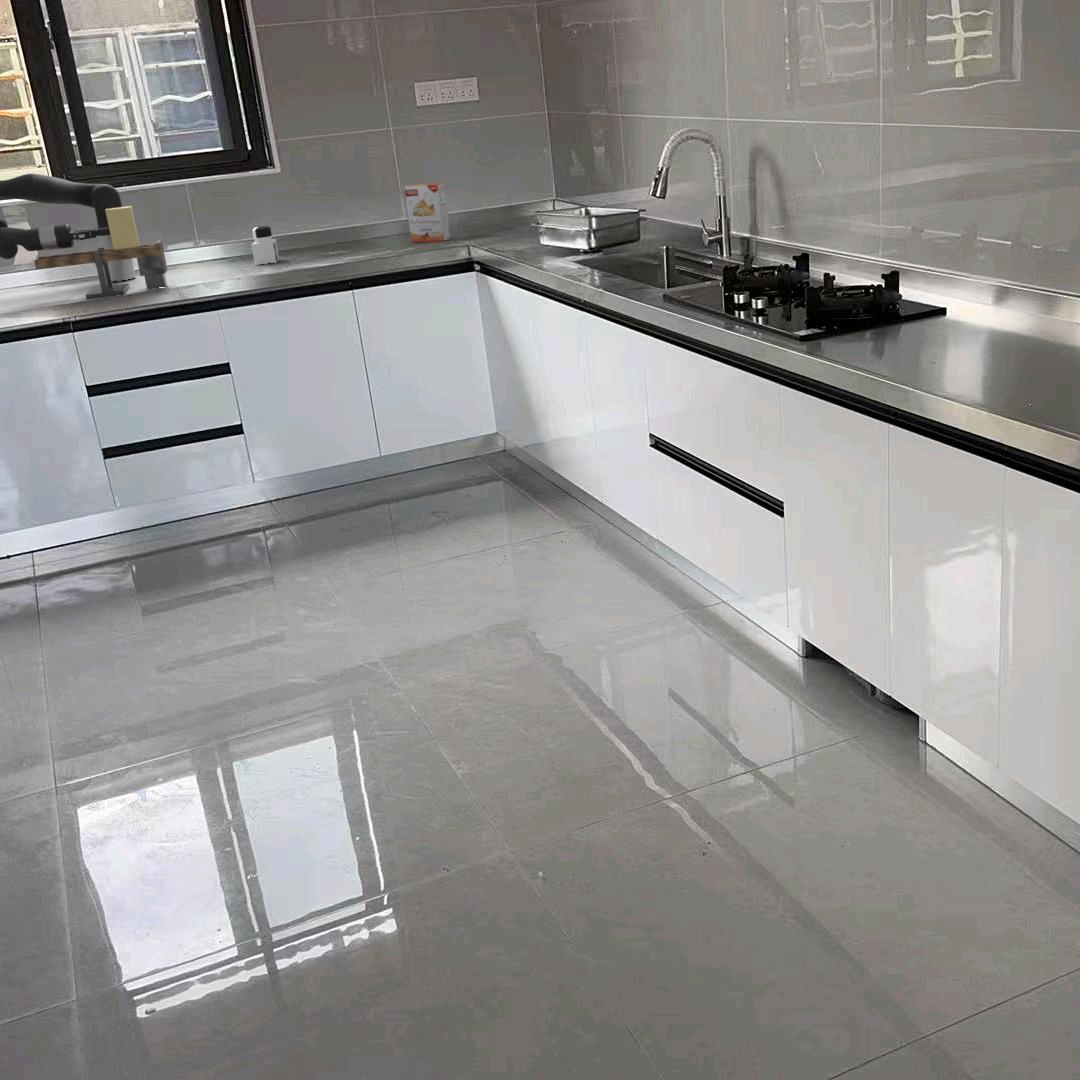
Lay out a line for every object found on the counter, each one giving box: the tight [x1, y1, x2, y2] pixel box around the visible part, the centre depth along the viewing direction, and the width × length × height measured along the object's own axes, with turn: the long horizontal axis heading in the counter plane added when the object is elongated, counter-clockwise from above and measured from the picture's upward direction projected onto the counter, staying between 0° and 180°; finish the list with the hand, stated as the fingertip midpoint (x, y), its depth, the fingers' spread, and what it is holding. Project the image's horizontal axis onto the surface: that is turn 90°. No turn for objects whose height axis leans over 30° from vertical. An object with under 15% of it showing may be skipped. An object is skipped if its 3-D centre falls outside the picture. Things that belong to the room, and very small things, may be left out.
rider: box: [105, 205, 141, 251], centre depth 401 cm, size 8×5×14 cm, turn 103°
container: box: [250, 225, 280, 266], centre depth 441 cm, size 8×8×13 cm
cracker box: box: [404, 182, 451, 243], centre depth 454 cm, size 14×6×21 cm, turn 67°
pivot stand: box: [85, 247, 168, 300], centre depth 405 cm, size 25×16×14 cm, turn 101°
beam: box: [34, 239, 168, 277], centre depth 403 cm, size 40×9×10 cm, turn 101°
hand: (110, 231), depth 400 cm, fingers closed
